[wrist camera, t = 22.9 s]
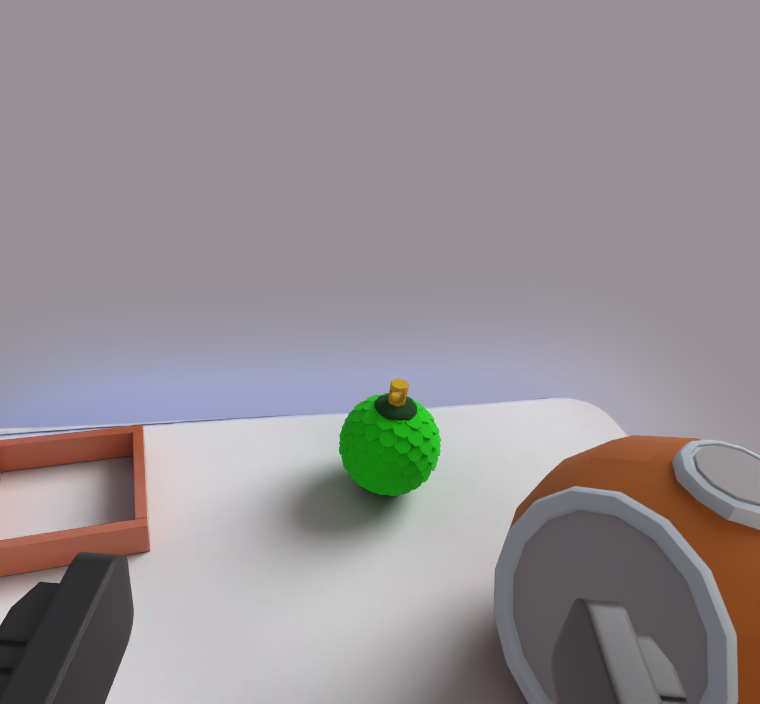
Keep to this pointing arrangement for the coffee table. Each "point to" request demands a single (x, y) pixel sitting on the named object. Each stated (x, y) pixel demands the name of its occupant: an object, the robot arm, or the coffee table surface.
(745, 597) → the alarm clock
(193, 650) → the coffee table surface
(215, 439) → the coffee table surface
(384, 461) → the ornament
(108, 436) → the reddish-brown square frame
